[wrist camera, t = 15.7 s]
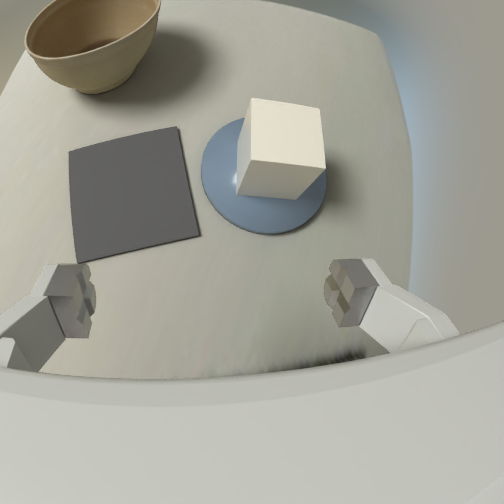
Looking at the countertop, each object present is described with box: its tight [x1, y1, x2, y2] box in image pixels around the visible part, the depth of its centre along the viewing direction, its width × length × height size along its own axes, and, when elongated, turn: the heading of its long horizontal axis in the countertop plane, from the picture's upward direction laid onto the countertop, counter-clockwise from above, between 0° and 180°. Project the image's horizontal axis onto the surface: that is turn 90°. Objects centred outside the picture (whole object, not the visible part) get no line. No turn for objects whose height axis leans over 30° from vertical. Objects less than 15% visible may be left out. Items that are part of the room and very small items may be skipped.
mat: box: [69, 126, 199, 264], centre depth 30 cm, size 13×13×1 cm
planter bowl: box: [24, 0, 161, 94], centre depth 27 cm, size 16×16×11 cm
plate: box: [201, 118, 327, 234], centre depth 33 cm, size 14×14×1 cm
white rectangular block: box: [236, 98, 326, 200], centre depth 29 cm, size 6×6×8 cm
